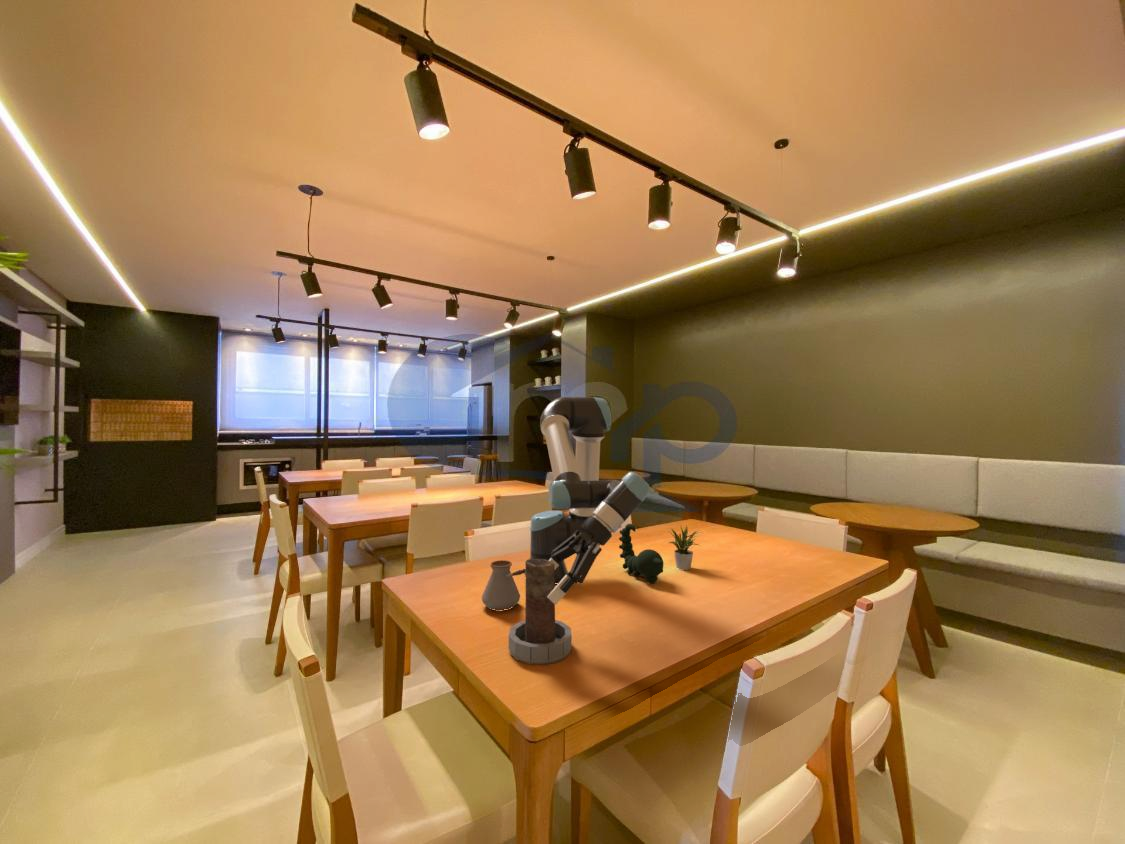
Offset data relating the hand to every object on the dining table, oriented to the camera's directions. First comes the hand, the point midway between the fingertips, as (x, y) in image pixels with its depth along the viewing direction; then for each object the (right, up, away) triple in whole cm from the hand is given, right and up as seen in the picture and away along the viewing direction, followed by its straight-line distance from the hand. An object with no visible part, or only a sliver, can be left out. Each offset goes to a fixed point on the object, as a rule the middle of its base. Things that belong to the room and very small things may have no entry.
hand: (544, 590), depth 108 cm
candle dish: (-1, -14, 0) cm, 14 cm away
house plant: (+52, -15, +62) cm, 82 cm away
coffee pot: (-11, -15, +21) cm, 28 cm away
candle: (-1, -13, +1) cm, 13 cm away
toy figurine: (+33, -15, +52) cm, 64 cm away
